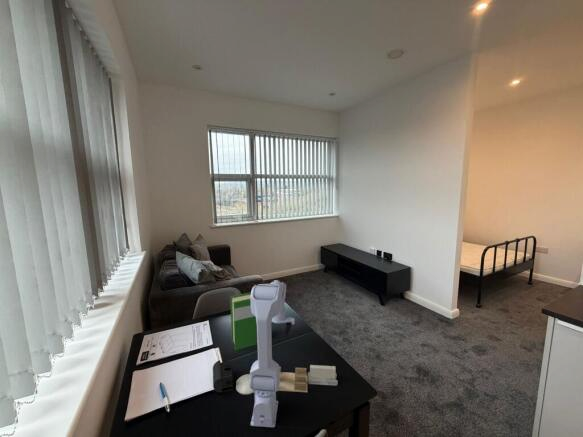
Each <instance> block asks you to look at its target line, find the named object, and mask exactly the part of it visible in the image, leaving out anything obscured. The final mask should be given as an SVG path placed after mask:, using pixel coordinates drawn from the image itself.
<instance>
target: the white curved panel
mask: <svg viewBox="0 0 583 437" xmlns="http://www.w3.org/2000/svg"><path fill="white" fill-rule="evenodd" d="M309 372H310V379H318V381H327V380H335V374H337V372H336V366H335V365H331V366H330V365H317V364H314V365H313V364H310V366H309Z"/></svg>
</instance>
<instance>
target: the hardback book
mask: <svg viewBox="0 0 583 437" xmlns="http://www.w3.org/2000/svg"><path fill="white" fill-rule="evenodd" d="M250 297H251V292H246V293H241V294H236V295H230V328H231V330H230V331H231V343H232V344H233V343H234V351H235V352H236V351H238V350H243V349H246V348H249V347H252V346H256V345H258V343H257V322H256V316H254V315H253V314H252V313H251V301H250Z"/></svg>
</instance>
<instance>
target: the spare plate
mask: <svg viewBox="0 0 583 437" xmlns="http://www.w3.org/2000/svg"><path fill="white" fill-rule="evenodd" d="M249 379H250V373H248V374H247V373H246V374H244V375H241V376H240V377H239V378H238V379H237V380H236V382H235V390H236V391H237V392H238V393H239V394H240V395H251V394H254V393H253V389H251V388H250V386H249Z"/></svg>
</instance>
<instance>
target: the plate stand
mask: <svg viewBox="0 0 583 437" xmlns="http://www.w3.org/2000/svg"><path fill="white" fill-rule="evenodd" d="M337 375H338V374H337V373H336V374H335V380H327V381H318V379H310V371H308V372H307V377H308V378H307V384H308V385H322V386H338V383H339V382H338V380H337V377H338V376H337Z"/></svg>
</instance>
